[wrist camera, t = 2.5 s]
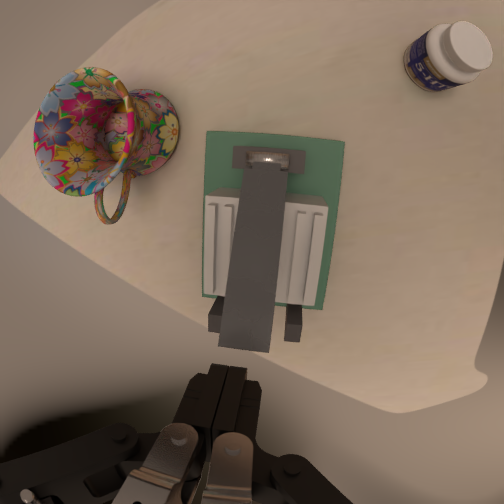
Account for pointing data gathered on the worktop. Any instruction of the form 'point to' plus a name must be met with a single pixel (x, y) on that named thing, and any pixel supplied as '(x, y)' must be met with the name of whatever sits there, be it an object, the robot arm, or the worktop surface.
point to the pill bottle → (448, 56)
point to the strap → (255, 254)
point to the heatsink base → (307, 182)
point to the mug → (101, 135)
